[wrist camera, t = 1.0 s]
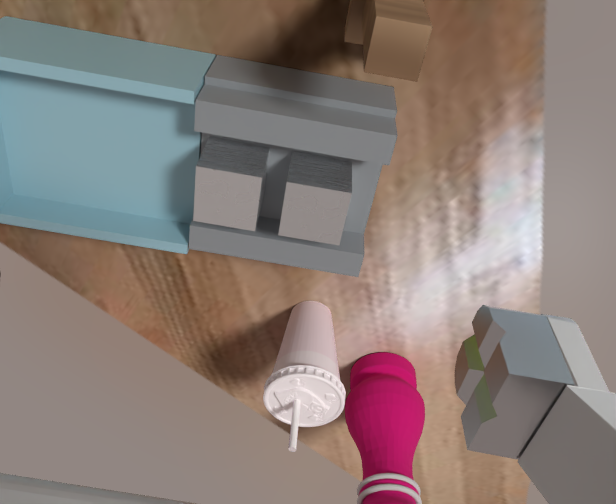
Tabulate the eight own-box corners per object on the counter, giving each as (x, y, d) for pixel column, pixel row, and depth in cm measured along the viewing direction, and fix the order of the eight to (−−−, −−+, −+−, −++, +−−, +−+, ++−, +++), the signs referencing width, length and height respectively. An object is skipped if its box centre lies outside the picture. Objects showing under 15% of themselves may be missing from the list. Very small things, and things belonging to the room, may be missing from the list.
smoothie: (292, 279, 50) (274, 412, 39) (359, 304, 51) (360, 440, 40) (265, 327, 54) (242, 461, 42) (328, 349, 55) (322, 486, 44)
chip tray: (5, 16, 38) (-50, 47, 33) (215, 54, 39) (194, 91, 34) (28, 174, 45) (-14, 220, 40) (205, 204, 46) (187, 254, 41)
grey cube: (292, 151, 38) (286, 182, 35) (352, 161, 38) (351, 193, 35) (284, 202, 41) (278, 235, 37) (340, 212, 41) (339, 245, 38)
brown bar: (363, -69, 34) (367, -25, 24) (430, -56, 34) (460, -7, 24) (344, 27, 37) (341, 99, 28) (406, 38, 37) (424, 114, 28)
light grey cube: (209, 136, 38) (195, 166, 35) (269, 147, 38) (262, 177, 35) (205, 188, 40) (193, 221, 37) (262, 198, 41) (255, 231, 37)
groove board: (217, 54, 39) (195, 91, 34) (393, 87, 39) (399, 128, 34) (207, 204, 46) (188, 254, 41) (356, 230, 46) (356, 282, 41)
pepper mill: (367, 406, 59) (371, 623, 43) (331, 363, 56) (322, 581, 40) (432, 384, 57) (463, 606, 41) (399, 337, 53) (419, 560, 37)
